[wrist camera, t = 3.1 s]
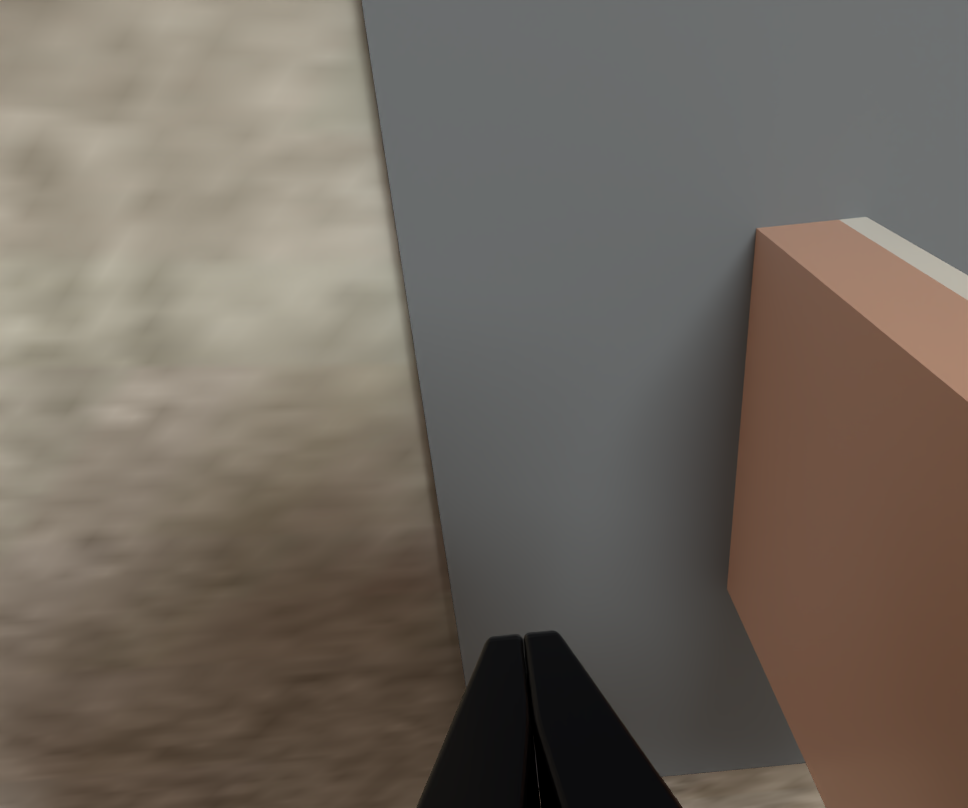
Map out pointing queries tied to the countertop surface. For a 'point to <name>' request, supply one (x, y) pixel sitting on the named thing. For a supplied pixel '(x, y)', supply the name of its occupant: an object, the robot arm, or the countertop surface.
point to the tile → (858, 508)
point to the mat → (635, 299)
